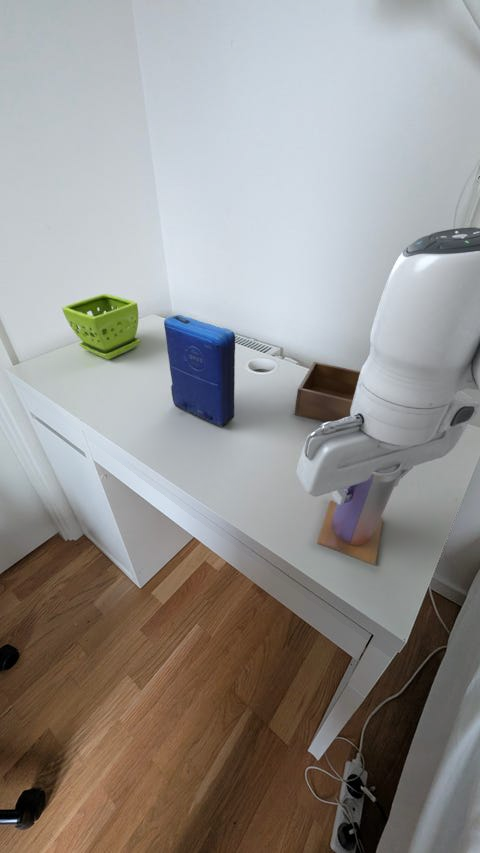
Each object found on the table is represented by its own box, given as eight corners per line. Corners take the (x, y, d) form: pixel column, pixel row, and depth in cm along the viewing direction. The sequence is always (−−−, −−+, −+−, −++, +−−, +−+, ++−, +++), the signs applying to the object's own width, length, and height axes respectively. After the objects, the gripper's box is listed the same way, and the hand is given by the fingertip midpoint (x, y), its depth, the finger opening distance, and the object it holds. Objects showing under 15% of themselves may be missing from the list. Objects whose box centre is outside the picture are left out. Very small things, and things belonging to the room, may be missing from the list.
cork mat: (381, 520, 51) (382, 518, 51) (374, 565, 46) (375, 563, 46) (329, 502, 54) (330, 500, 54) (317, 543, 48) (317, 541, 48)
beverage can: (327, 539, 48) (347, 466, 39) (334, 507, 53) (354, 435, 43) (370, 553, 47) (403, 481, 37) (374, 519, 51) (404, 446, 41)
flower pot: (147, 346, 96) (138, 302, 88) (106, 366, 87) (93, 319, 79) (115, 334, 102) (104, 291, 94) (74, 351, 93) (58, 306, 85)
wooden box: (363, 398, 77) (370, 373, 72) (353, 430, 68) (360, 404, 64) (310, 385, 81) (313, 361, 76) (294, 414, 72) (297, 388, 68)
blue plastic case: (170, 407, 74) (155, 318, 61) (186, 396, 77) (176, 309, 64) (222, 432, 67) (218, 338, 54) (237, 419, 71) (237, 327, 58)
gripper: (326, 449, 30) (306, 536, 39) (493, 403, 36) (442, 488, 45) (293, 409, 35) (282, 495, 44) (446, 374, 40) (409, 456, 49)
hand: (364, 491), depth 44 cm, fingers closed on beverage can, 6 cm apart
